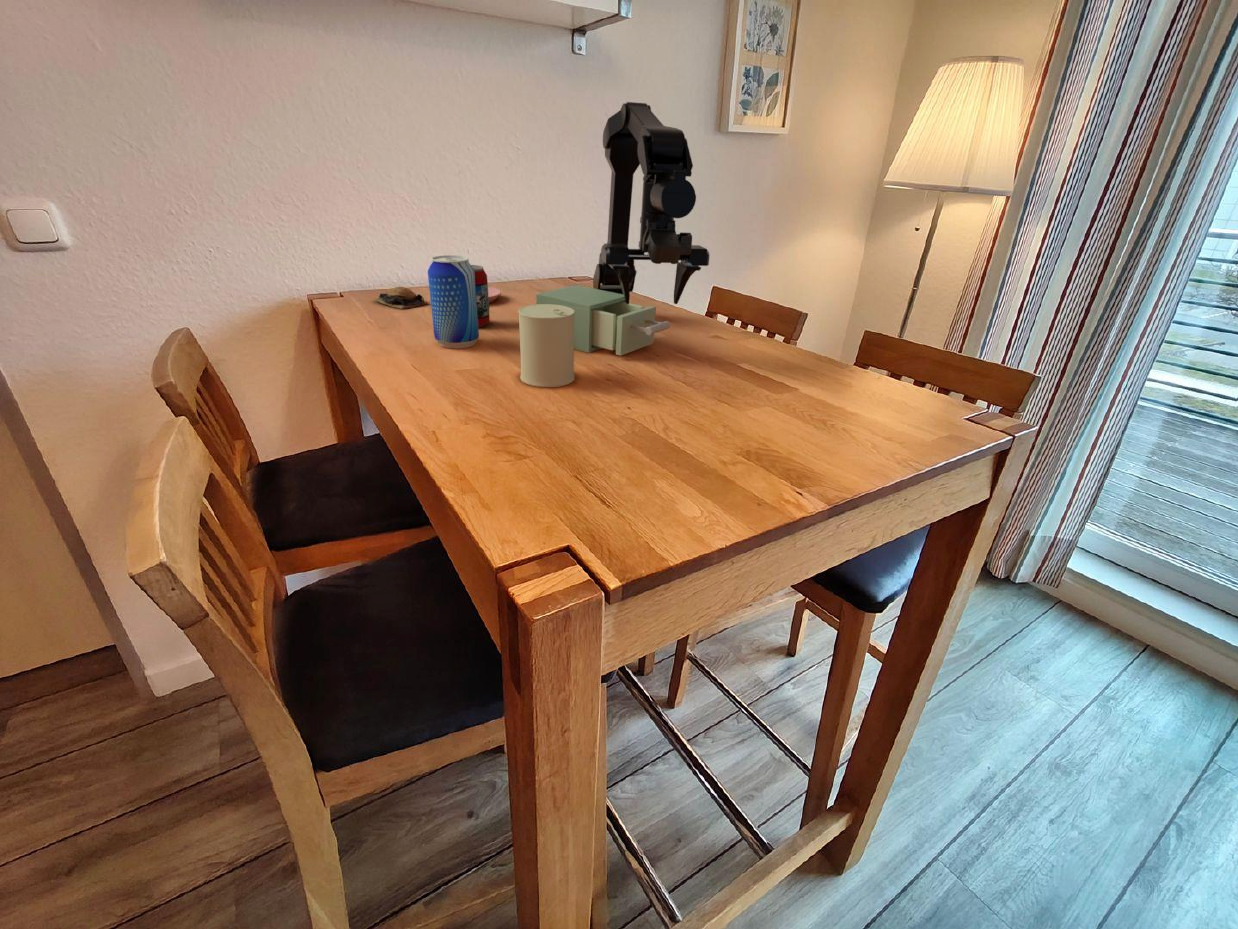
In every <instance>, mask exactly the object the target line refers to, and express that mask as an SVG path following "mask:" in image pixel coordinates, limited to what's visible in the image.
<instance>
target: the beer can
mask: <svg viewBox="0 0 1238 929" xmlns="http://www.w3.org/2000/svg"><path fill="white" fill-rule="evenodd" d="M471 265H472V264H471V263H470V262H469V257H467V256H463V255H452V254H450V255H445V254H444V255H436V256H432V258H431V263H430V265H429V267H428V269H427V279H428V289H429V297H430V308H431V316H432V327H433V335H434V340H436V341H437V342H438V344H439V346H440V347H442V348H446V349H455V350H457V349H458V350H459V349H467V348H471V347H473V346H475V345H476V343H477V340H479V337H480V332H479V330H480V329H479V327H478V315H477V300H476V286H475V272H474V269H473V268H472V266H471Z"/></svg>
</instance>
